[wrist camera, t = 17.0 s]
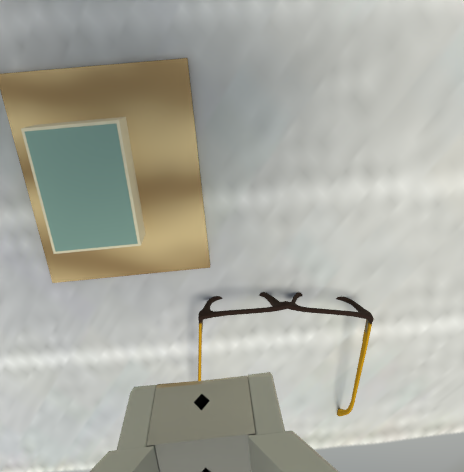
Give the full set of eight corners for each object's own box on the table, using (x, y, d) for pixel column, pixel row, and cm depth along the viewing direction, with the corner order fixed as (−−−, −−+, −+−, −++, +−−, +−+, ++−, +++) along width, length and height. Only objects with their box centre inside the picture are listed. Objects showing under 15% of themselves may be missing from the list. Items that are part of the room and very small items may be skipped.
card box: (125, 116, 29) (35, 124, 29) (118, 120, 27) (20, 128, 27) (145, 233, 32) (64, 241, 32) (140, 246, 30) (53, 254, 30)
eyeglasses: (359, 285, 36) (377, 309, 33) (338, 411, 41) (351, 444, 38) (199, 284, 35) (198, 308, 32) (197, 413, 41) (196, 447, 37)
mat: (-2, 74, 28) (-5, 74, 28) (187, 58, 28) (187, 58, 28) (54, 280, 34) (52, 282, 33) (210, 265, 34) (210, 267, 34)
